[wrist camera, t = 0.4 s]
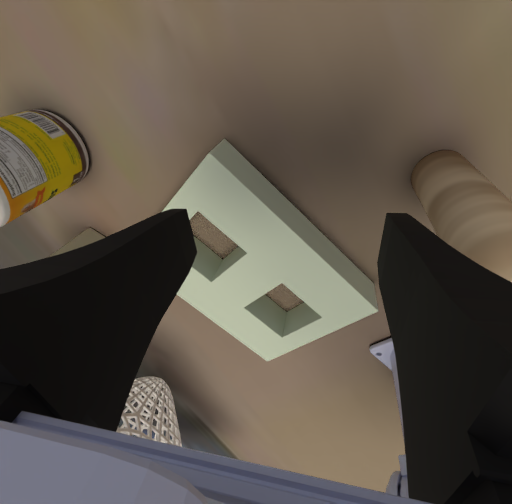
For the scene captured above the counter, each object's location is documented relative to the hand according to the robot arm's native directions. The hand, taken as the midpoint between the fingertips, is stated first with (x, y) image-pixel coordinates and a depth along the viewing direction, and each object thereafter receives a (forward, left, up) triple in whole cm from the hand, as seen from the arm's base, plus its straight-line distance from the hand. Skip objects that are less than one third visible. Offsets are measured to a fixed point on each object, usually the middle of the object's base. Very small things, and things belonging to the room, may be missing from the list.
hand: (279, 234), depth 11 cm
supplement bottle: (+13, +13, -10) cm, 21 cm away
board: (-4, +9, -10) cm, 14 cm away
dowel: (-7, -5, -10) cm, 13 cm away
